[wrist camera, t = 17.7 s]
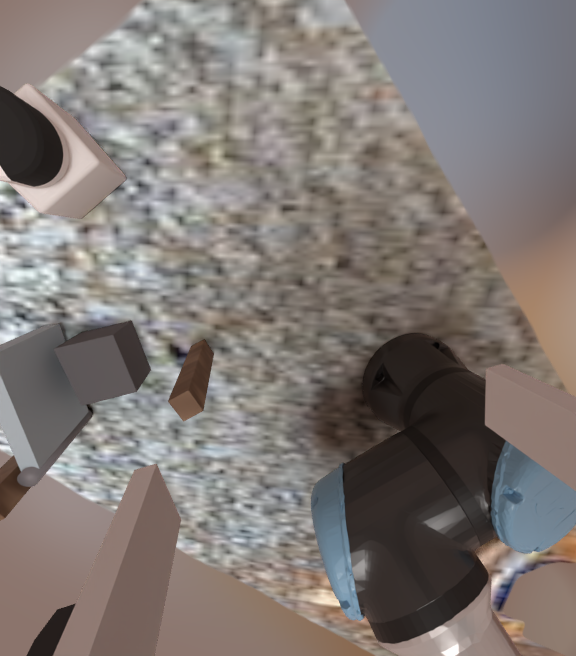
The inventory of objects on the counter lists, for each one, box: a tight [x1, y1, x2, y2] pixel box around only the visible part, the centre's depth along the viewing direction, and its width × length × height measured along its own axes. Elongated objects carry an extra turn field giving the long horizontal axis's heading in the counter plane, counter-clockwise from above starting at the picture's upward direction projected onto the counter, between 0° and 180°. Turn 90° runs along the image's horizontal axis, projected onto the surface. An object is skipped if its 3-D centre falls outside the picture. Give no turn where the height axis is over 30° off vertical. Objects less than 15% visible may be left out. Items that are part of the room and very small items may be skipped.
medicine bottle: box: [0, 84, 126, 219], centre depth 25 cm, size 7×7×12 cm
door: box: [0, 324, 92, 487], centre depth 31 cm, size 3×13×11 cm, turn 5°
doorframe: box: [0, 339, 214, 521], centre depth 32 cm, size 2×24×14 cm, turn 117°
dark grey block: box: [54, 321, 151, 406], centre depth 34 cm, size 7×6×6 cm
